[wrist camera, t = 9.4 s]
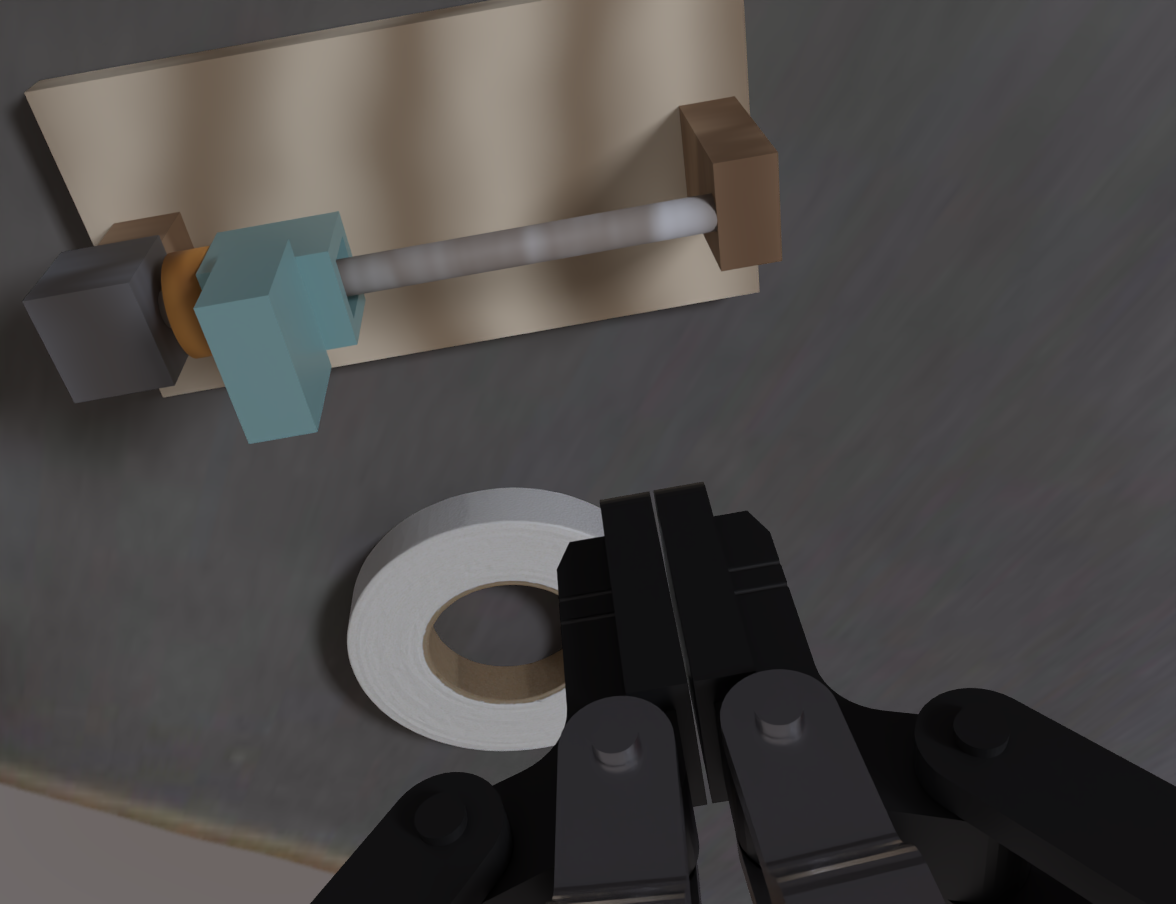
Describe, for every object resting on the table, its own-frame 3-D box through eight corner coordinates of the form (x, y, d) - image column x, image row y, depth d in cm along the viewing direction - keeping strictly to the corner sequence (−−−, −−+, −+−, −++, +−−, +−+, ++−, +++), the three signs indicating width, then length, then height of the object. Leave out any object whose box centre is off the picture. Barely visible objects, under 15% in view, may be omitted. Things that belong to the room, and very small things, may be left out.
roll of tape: (399, 734, 56) (396, 777, 53) (310, 517, 47) (302, 558, 45) (678, 682, 56) (687, 723, 53) (642, 455, 47) (651, 493, 45)
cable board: (732, -43, 35) (801, 12, 28) (750, 275, 42) (810, 386, 35) (39, 80, 35) (-72, 167, 28) (171, 378, 42) (110, 509, 35)
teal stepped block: (333, 193, 33) (305, 288, 27) (370, 315, 35) (351, 425, 30) (210, 215, 33) (156, 314, 27) (255, 335, 35) (215, 449, 30)
